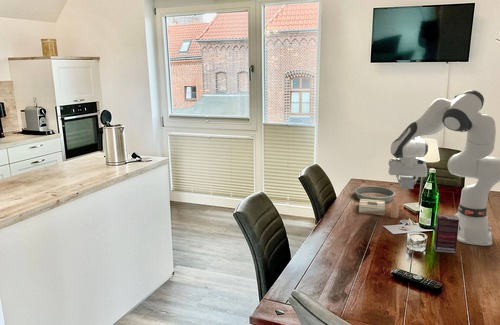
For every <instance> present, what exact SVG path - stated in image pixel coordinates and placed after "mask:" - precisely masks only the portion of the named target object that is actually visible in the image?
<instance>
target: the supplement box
mask: <svg viewBox="0 0 500 325" xmlns="http://www.w3.org/2000/svg"><path fill="white" fill-rule="evenodd" d="M435 216H436V218H435V226H434V238H433V246H432V247H433V249H434V251H435V252H439V253H452V254H455V253H457V252H456V251H457V243H458V239H457V235H458V225H459V219H458V218H457V216H454V215H445V214H444V215H443V214H436V215H435Z"/></svg>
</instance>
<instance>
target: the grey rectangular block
mask: <svg viewBox="0 0 500 325" xmlns="http://www.w3.org/2000/svg"><path fill="white" fill-rule="evenodd" d="M399 177H400V178H399V179H401V183H399V185H400V189H407V190H408V189H409V190H414V186H415V184H414V180H415V178H414V176H400V175H399Z"/></svg>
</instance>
